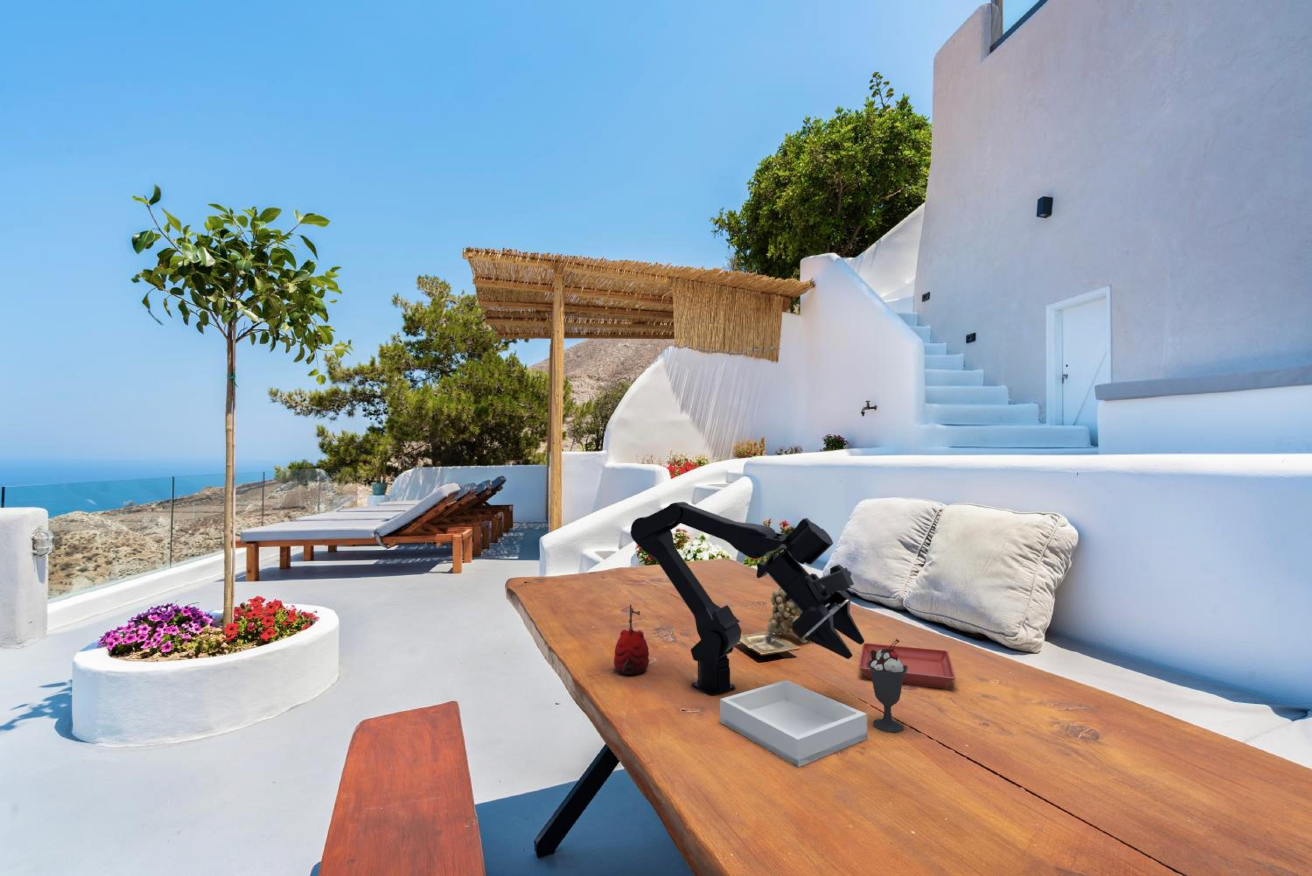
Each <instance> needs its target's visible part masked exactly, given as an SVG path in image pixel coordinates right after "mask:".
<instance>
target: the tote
mask: <svg viewBox="0 0 1312 876" xmlns="http://www.w3.org/2000/svg"><path fill="white" fill-rule="evenodd" d="M719 710H720V711H719V713H720V714H719V717H720V718H719V720H720V721H719V722H720V724H722V725H724V726H725V727H727V728H729V729H731V730H732V731H734V732H736V733H737V734H740V735H741V736H743V737H745V738H746V739H748V740H750V741H751V742H754V743H755V744H757V745H759V746H760V747H762V748H764V749H766V750H768V751H769V752H771V753H772V754H774V755H777V756H778V757H780V758H781V759H783V760H785V761H786V762H788V763H790V764H792V765H794V766H796V767H797V768H800V767H802V766H806V765H807V764H809V763H813V762H814V761H818V760H820V759H822V758H824V757H827V756H829V755H832V754H834V753H837V752H839V751H842V750H844V749H846V748H849V747H852V746H854V745H856V744H859V743H861V742H864V741H866V740H867V739H868V714H867V713H865V712H863V711H860V710H858V709H856V708H853V707H851V706H849V705H847V704H844V703H841V702H839V701H837V700H834V699H832V698H829V697H828V696H825V695H823V694H820V693H819V692H818V693H817V692H815V691H813V690H810V689H808V688H806V687H803V686H801V685H798V684H797V683H793V682H791V681H789V680H786V679H785V680H781V681H778V682H775V683H772V684H768V685H765V686H761V687H757V688H754V689H749V690H747V691H743V692H740V693H737V694H732V695H729V696H726V697H723V698H719Z"/></svg>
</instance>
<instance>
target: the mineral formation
mask: <svg viewBox="0 0 1312 876" xmlns="http://www.w3.org/2000/svg"><path fill="white" fill-rule="evenodd" d="M785 596H786V593H785V592H784V591H783V590H782V589H781V588H780V587H779V588H778V589H777V590H776V589H775V590H772V594H771V598H770V602H771V604H772V605H773V607H772V608H771V611H772V612H771V614H772V616H771V617H770V618H769V619H768V622H767V626H766V628H767V632H768V633H769V634H773V633H775V634H777V635H778V634H780V633H782V634H780V635H783V634H784V635H788V634H793V635H794V637H795V638H797V640H799V641H800V643H801V642H802V643H801V644H804V643H805V644H806V643H807V642H808V640H807V641H806V640H805V638H806V637H807V636H808V635H809V632H807V634H806V635H805V636H803V637H802V638H801V639H799V638H798V636H797V635H796V634H795V633H794V632H793V631H792V623H793V622H794V621H795V620H796V619H797V618H798V617H799V616H800V614H801V613H802V612H801V610H800V609H799V608H798V607H797V606H796V605H795V604H794V603H793V601H792V600H790V601H787V600H786V599H785V598H784V597H785Z"/></svg>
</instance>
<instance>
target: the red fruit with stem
mask: <svg viewBox="0 0 1312 876" xmlns="http://www.w3.org/2000/svg"><path fill="white" fill-rule="evenodd" d="M628 608H629V619H628V624H629V629H628V630H627V629H622V630H621V631H620V636H619V638H618V639H617V641H616V643H615V648H614V658H613V665H614V667H615V669H616V671H617V672H619V673H620V674H621V675H625V676H626V675H627V676H637V675H641V674H642V673H645V672H646V670H647V669H648V666H649V663H650V659H649V656H650V654H649V653H650V652H649V646H648V644H647V641H646V639H645V637H644V632H643V631H642V630H634V629H633V624H632V623H633V620H632V618H633V614H636V615H638V616H641V611H640V610H638V611H635V610H634V609H633V608H632V604H629V607H628Z"/></svg>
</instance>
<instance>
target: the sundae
mask: <svg viewBox="0 0 1312 876" xmlns="http://www.w3.org/2000/svg"><path fill="white" fill-rule="evenodd" d="M900 642H901V641H900V640H899V639H897V638H896V639H895V640H894V641H893V642H892V643H891V646H892V645H893V647H891V646H888V647H887V648H886V649H882V650H880V651H878V652H877V651H875V650H872V649H871V650H870V651H871V660H870V661H869V662H868V663H866V664H867V666H868V667H869V668H870V669H871V675H872V679H871V680H872V688H873V692H874V695H875V698H876V699H877V701H878V702H879V703H880V704H881V705H883V716H882V718H877V719H874V720H873V721H872V725H873V727H874V728H876V729H877V730H880V731H882V732H885V733H899V732H902V731H903V730H904V729H905V728H904V726H903V724H902V723H901V722H899V721H897V720H894V719H893V716H892V707H893V706H895V705H896V704H897V703H898V702H899V701H900V699H901V695H902V694H901V693H902V687H903V686H902V685H903V683H902V680H903V674H905V673H906V672H907V670H908V667H907V666H906V665H902V662H901V661H900V660H899V659H898V654H897V653H896V652H894V646H896V645H897V644H898V643H900Z"/></svg>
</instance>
